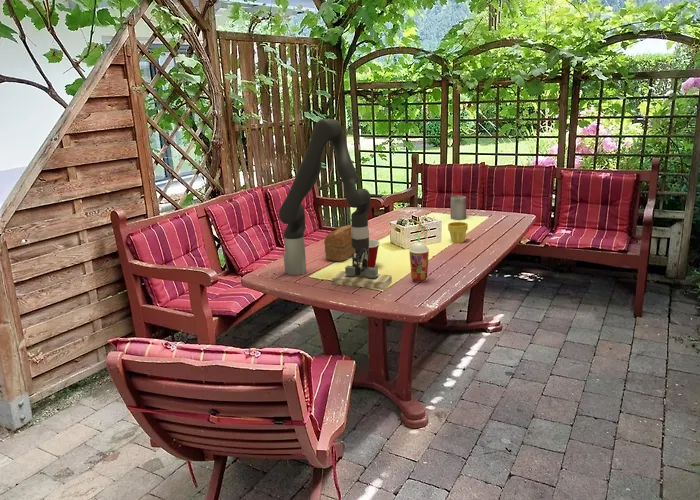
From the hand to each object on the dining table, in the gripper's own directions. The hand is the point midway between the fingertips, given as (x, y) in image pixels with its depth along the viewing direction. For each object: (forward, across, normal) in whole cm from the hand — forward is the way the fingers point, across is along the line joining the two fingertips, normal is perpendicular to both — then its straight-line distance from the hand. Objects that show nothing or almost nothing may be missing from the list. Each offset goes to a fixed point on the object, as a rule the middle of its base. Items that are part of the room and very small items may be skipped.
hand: (361, 272), depth 246 cm
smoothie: (+5, -10, +23) cm, 26 cm away
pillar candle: (+5, -132, +15) cm, 133 cm away
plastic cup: (+5, -23, -5) cm, 24 cm away
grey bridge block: (+5, 0, 0) cm, 5 cm away
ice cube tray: (+5, 0, 0) cm, 5 cm away
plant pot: (+5, -77, +26) cm, 81 cm away
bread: (+5, -39, -24) cm, 46 cm away
